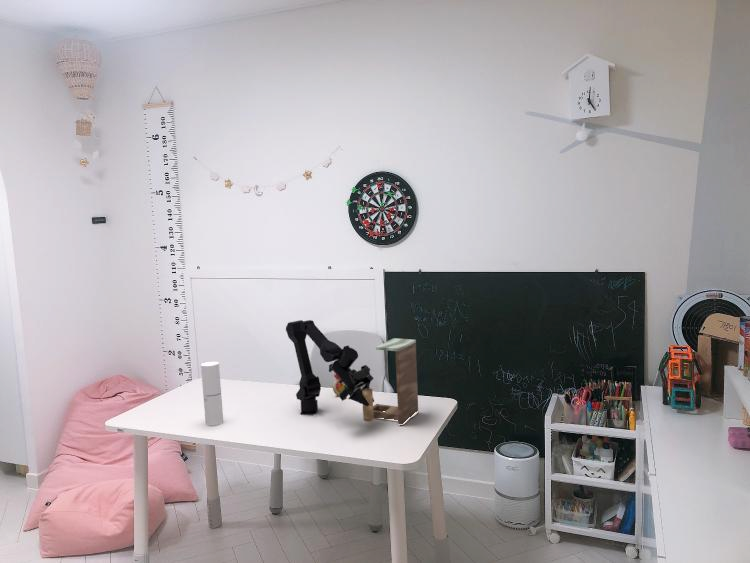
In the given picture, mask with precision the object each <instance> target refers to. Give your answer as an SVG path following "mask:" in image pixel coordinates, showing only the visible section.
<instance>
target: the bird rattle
mask: <svg viewBox="0 0 750 563" xmlns="http://www.w3.org/2000/svg"><path fill="white" fill-rule="evenodd" d="M333 377H334V378H335V380H334V381H333V384H332V391H333V393H334V394H335V395H336V397H339V394H340V393H341V392H342V391H343V390H344V389H345V387H346V385H345V384H344V383H340V382H339V381H340V380H341V379H340V378H339V377H338V376H337V375H336V374H335V373H334V374H333Z"/></svg>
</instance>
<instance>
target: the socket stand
mask: <svg viewBox="0 0 750 563" xmlns="http://www.w3.org/2000/svg"><path fill="white" fill-rule="evenodd" d="M375 350H376V351H377V350H378V351H379V350H380V351H388V352H389V351H391V352H395V369H396V370H395V371H396V376H395V377H396V393H397V394H396V397H397V406H395V405H390V404H389V405H387V404H380V403H376V404H375V405H374V404H373V416H374V418H384V419H394V420H398V422H397V423H398V424H403V423H404V422H405V421H406V420H407V419H408V418H409V417H411V416H412V415H413V414H414V413H415V412H417V411H418V412H419V397H418V396H419V394H418V393H419V391H418V390H419V389H418V370H417V369H418V368H417V367H418V366H417V365H418V364H417V363H418V362H417V339H410V338H409V339H408V338H396V337H394V338H393V337H392V338H391V339H389V340H387V341H385V342H383V343H381V344H379V345H377V346H375ZM383 411H385V412H383Z"/></svg>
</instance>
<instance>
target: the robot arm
mask: <svg viewBox="0 0 750 563" xmlns="http://www.w3.org/2000/svg"><path fill="white" fill-rule="evenodd" d="M285 332H286V335H287V337H288V339H290V341H291V342H292V343H293V345H294V350H295V354H296V359H297V363H298V368H299V372H300V375H301V376H300V380H299V383H298V384H299V389H298V391H297V392H296V394H295V396H296V400H298V401H300V410H301V411H300V415H316V413H317V411H319V410H318V409H319V405H318V399H317V398H319V397H320V394H321V389H322V388H321V386H322V385H321V382H320V377H319V376H316V375H315V374H314V372H313V368H312V364H311V359H310V355H309V352H308V347H307V342H306V339H307V336H308V337H309V339H310V340H312V342H313V343H314V344H315V345H316V346H317V348H318V349H319V354H320V356H321V358H322V360H323V361H324V362H325V363H330V364H329V365H328V372H329V373H332V372H334V374H336V375H337V376H338V377H339V378H340V379H341V380H340V381H339V382H340V383H344V385H346V387H345V389H344V390H343V391H342V392H341V393H340V394H339V396H338V397H339V399H341V402H344V401H346V400H351V401H353V402H356V403H358V404H361V405H362V406H363V405H365V406H368V405H369V403H368V402H367V400H366V399H365V398H364V396H363V395H362V389H366V388H370V386H371V385H370V384H371V382H372V381H373V380H374V377H373V376H372V374H371V373H370V372H371V368H370V367H369V366H368V365H367V364H365V365H362V366H361V367H360V370H358V371H357V370H356V369H354V368H353V369H351V367H352V366H353V364H354V363H355V362H356V361H357V359H358V358H359V353H358V351H357V350H355V349H354V348H352V347H350V346H349V345H345V346H343V347H342V348H341V346H339V345H338V344H337V343H336V342H334V341H331V340H330V339H328V338H327V337H326V336H325V334H323V332H322V331H321V330H320V329H319V328H318V327H317V326H316V325H315V322H314V320H312V319H309V320H303V319H302V320H301V319H300V320H294V321H289V322H287V325H286V326H285ZM340 383H339V384H340ZM348 396H349V397H348ZM374 402H375V399H374V398H373V403H374Z"/></svg>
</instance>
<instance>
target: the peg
mask: <svg viewBox="0 0 750 563" xmlns="http://www.w3.org/2000/svg"><path fill="white" fill-rule="evenodd" d="M362 395H363V396H364V398H365V399H366V400H367V402H368V403H369V405H368V406H365V405H363V404H362V418H363V421H364V422H369V423H370V422H373V421H374V420H375V419H374V416H373V406H374V402H373V399H374V395H373V389H372V388H371V387H369V388H366V389H362Z"/></svg>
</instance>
